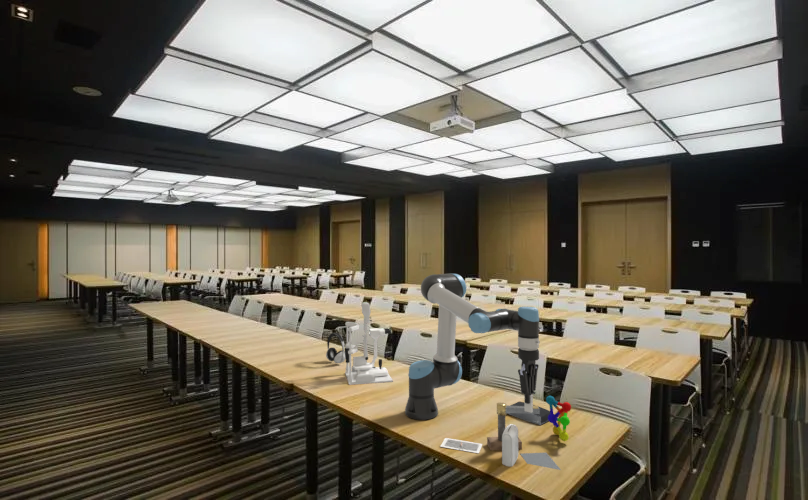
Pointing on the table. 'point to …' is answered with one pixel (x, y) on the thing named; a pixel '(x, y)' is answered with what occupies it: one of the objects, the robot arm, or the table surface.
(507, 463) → the white upright block
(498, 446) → the post stand
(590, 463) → the table surface
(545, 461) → the mat
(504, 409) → the lever
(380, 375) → the white slit lamp
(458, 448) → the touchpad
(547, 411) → the external hard drive
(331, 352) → the headphones
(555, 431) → the molecular model
